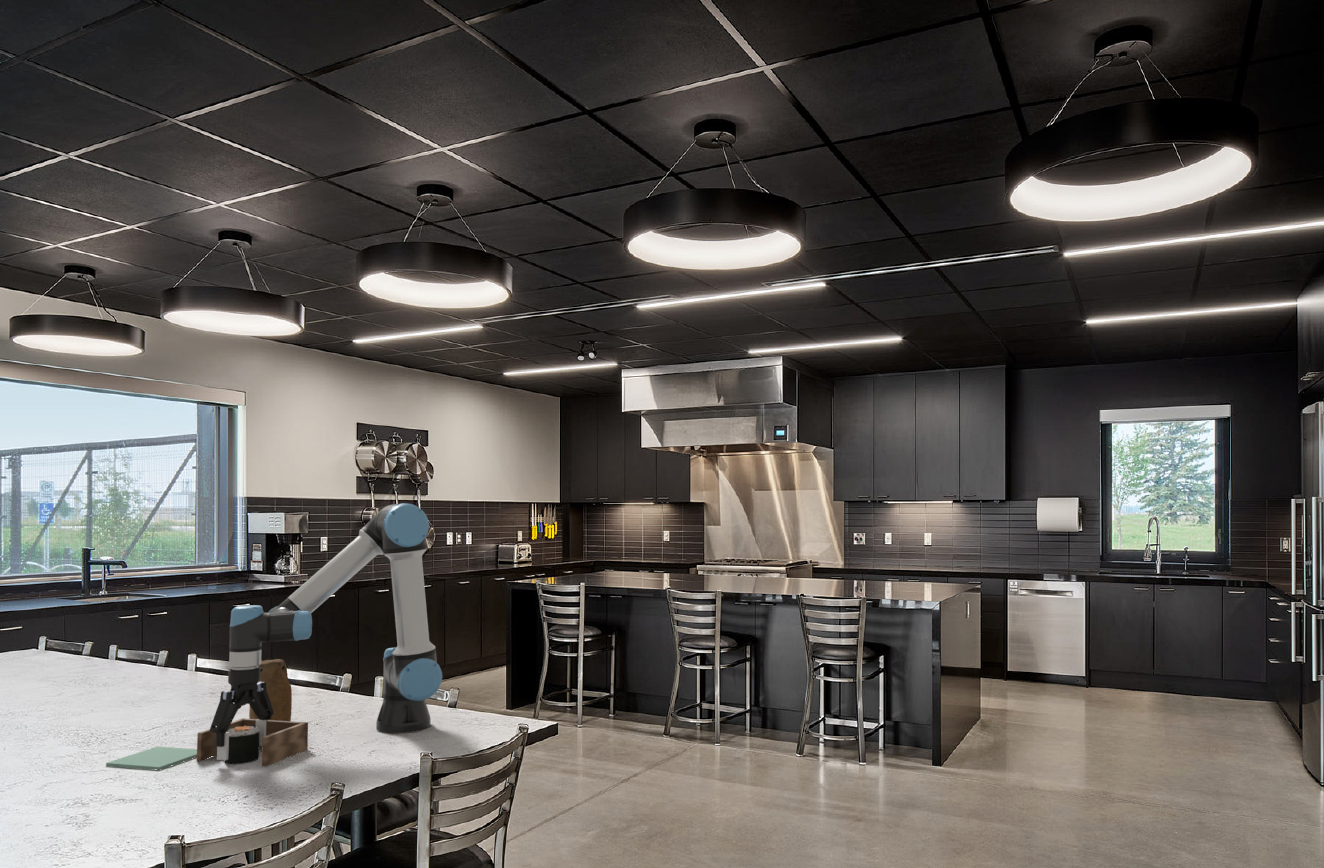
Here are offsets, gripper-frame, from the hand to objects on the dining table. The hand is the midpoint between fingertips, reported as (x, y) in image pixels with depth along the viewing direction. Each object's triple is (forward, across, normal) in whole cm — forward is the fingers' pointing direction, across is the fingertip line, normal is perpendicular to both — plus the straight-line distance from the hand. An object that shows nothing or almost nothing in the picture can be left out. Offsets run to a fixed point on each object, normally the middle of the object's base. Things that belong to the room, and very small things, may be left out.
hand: (241, 752), depth 230 cm
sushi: (+2, 0, 0) cm, 2 cm away
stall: (+2, -4, 0) cm, 5 cm away
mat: (+2, +5, -21) cm, 22 cm away
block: (+2, -27, -13) cm, 30 cm away
